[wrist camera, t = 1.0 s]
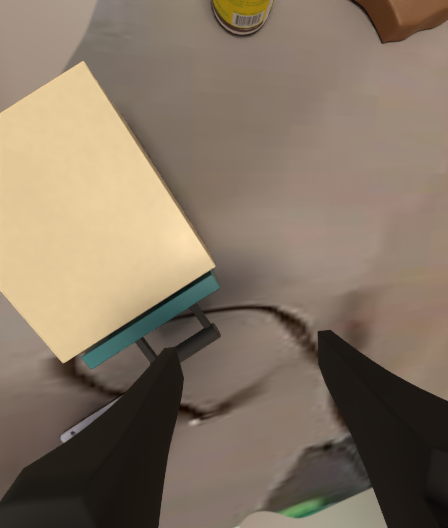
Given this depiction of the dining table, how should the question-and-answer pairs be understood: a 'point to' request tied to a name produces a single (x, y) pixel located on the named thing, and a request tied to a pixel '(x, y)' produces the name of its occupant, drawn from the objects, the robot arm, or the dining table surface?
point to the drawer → (156, 318)
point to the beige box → (85, 217)
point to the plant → (404, 16)
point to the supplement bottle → (242, 14)
